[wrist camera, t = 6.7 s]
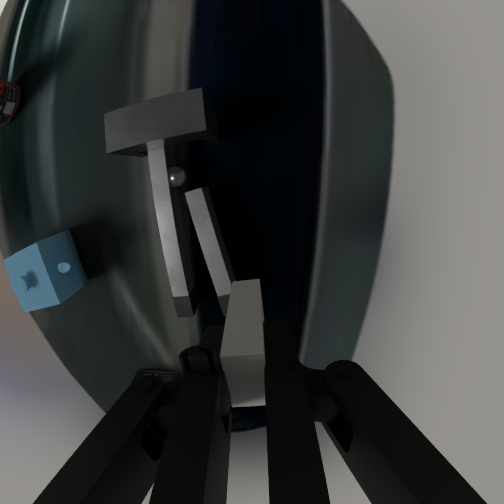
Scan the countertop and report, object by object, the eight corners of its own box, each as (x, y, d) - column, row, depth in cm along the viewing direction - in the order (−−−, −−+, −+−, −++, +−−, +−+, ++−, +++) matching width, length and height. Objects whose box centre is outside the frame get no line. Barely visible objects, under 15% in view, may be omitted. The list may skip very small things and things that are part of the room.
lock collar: (140, 126, 22) (104, 113, 15) (215, 110, 21) (201, 87, 15) (143, 157, 22) (106, 153, 16) (219, 142, 22) (206, 130, 16)
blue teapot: (96, 217, 24) (51, 233, 17) (116, 272, 26) (78, 303, 19) (31, 247, 25) (-9, 266, 18) (48, 292, 27) (12, 319, 20)
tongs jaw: (192, 190, 23) (183, 193, 20) (208, 185, 23) (201, 187, 20) (227, 301, 26) (224, 317, 23) (242, 298, 26) (240, 313, 23)
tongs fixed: (159, 148, 22) (146, 145, 19) (188, 142, 22) (178, 138, 19) (185, 301, 27) (177, 317, 23) (212, 299, 26) (207, 315, 23)
